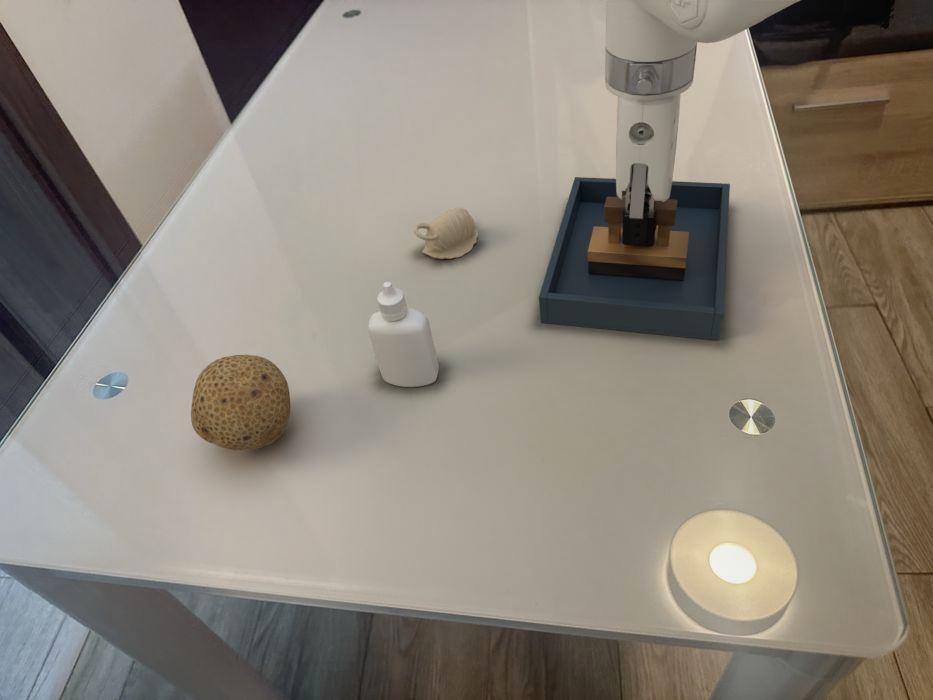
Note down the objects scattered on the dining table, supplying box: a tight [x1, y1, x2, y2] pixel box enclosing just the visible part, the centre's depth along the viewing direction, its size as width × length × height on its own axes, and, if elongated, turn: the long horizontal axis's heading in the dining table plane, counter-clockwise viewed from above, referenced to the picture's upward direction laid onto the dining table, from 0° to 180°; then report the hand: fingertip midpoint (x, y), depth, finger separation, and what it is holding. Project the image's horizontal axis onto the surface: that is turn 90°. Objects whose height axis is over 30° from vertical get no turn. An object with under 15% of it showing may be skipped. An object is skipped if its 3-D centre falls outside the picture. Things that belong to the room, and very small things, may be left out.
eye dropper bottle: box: [367, 281, 440, 388], centre depth 67 cm, size 4×6×12 cm
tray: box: [538, 176, 731, 341], centre depth 77 cm, size 18×22×4 cm
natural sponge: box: [190, 354, 292, 452], centre depth 64 cm, size 9×9×10 cm
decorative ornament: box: [413, 207, 479, 260], centre depth 82 cm, size 4×8×5 cm, turn 122°
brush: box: [588, 197, 689, 280], centre depth 74 cm, size 10×4×8 cm, turn 75°
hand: (639, 235), depth 74 cm, fingers closed on brush
